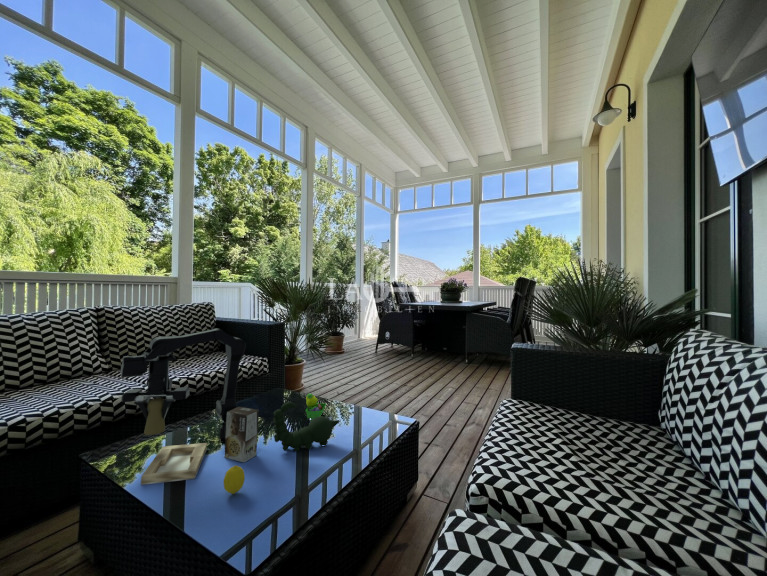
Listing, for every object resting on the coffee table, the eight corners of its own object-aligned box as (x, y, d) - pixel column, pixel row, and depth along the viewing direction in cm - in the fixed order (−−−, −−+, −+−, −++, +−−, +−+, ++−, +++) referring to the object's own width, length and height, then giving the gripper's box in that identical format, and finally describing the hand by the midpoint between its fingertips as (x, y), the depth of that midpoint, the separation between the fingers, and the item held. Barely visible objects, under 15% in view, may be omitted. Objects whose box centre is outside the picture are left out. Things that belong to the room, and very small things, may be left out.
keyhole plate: (206, 449, 119) (207, 442, 119) (194, 478, 100) (195, 470, 100) (162, 453, 115) (162, 446, 115) (140, 484, 96) (141, 476, 96)
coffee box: (257, 455, 117) (260, 409, 118) (244, 463, 111) (247, 415, 111) (236, 450, 120) (240, 405, 121) (223, 457, 114) (226, 411, 114)
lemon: (227, 488, 96) (229, 460, 97) (246, 488, 97) (248, 461, 97) (219, 499, 91) (221, 470, 91) (239, 499, 91) (241, 470, 91)
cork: (153, 435, 109) (156, 402, 109) (139, 433, 110) (141, 400, 110) (169, 429, 114) (171, 397, 115) (155, 426, 116) (157, 395, 116)
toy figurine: (275, 462, 116) (343, 446, 126) (274, 409, 116) (342, 397, 126) (273, 450, 125) (337, 436, 134) (272, 401, 125) (335, 391, 134)
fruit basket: (321, 422, 151) (322, 397, 151) (301, 421, 151) (303, 396, 151) (325, 413, 162) (327, 390, 162) (308, 412, 162) (309, 389, 163)
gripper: (194, 368, 123) (192, 409, 123) (136, 369, 118) (133, 412, 117) (186, 375, 113) (183, 420, 112) (122, 376, 107) (119, 424, 107)
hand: (155, 419), depth 112 cm, fingers closed on cork, 4 cm apart
